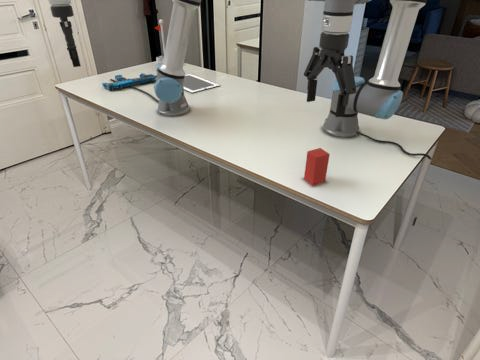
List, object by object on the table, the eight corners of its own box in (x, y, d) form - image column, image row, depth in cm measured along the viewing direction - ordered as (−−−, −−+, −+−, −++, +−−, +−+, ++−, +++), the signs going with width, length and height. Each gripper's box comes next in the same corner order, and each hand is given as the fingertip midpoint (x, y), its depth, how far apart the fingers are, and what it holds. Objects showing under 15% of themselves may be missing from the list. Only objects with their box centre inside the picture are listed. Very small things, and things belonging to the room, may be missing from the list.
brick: (316, 175, 119) (320, 147, 113) (325, 182, 115) (329, 153, 109) (303, 179, 117) (307, 151, 111) (312, 186, 113) (316, 157, 107)
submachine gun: (146, 68, 225) (164, 74, 209) (147, 73, 227) (165, 80, 210) (94, 78, 207) (110, 85, 190) (96, 84, 209) (112, 92, 192)
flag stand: (173, 62, 249) (168, 17, 233) (177, 66, 239) (172, 20, 223) (155, 64, 245) (149, 18, 229) (158, 68, 235) (152, 21, 219)
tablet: (163, 80, 212) (163, 79, 212) (190, 74, 223) (190, 73, 223) (192, 93, 192) (192, 92, 192) (220, 85, 203) (220, 85, 203)
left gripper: (48, 2, 136) (63, 57, 148) (50, 9, 118) (67, 71, 129) (68, 1, 139) (82, 55, 151) (74, 8, 120) (88, 68, 132)
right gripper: (296, 26, 98) (290, 97, 110) (357, 42, 79) (343, 125, 91) (317, 24, 101) (309, 93, 112) (381, 39, 82) (364, 120, 94)
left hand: (75, 62), depth 140 cm, fingers open, 13 cm apart
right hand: (324, 108), depth 102 cm, fingers open, 13 cm apart
